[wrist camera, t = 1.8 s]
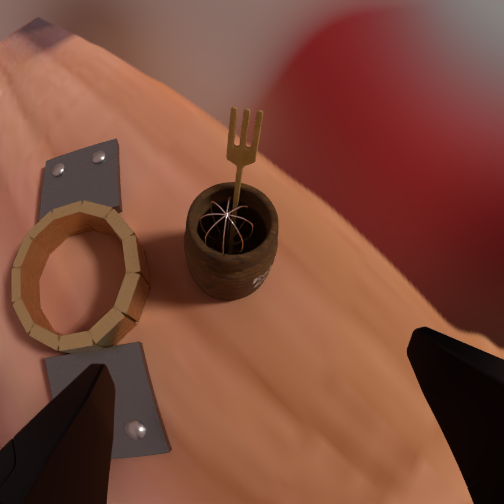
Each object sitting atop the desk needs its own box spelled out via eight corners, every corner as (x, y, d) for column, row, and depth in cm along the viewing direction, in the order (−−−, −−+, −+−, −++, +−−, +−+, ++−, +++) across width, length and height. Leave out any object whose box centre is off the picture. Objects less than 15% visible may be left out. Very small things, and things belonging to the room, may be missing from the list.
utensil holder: (183, 297, 21) (147, 213, 10) (197, 221, 24) (186, 102, 13) (264, 308, 22) (311, 234, 11) (270, 230, 24) (309, 117, 13)
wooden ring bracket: (192, 445, 17) (187, 456, 14) (61, 457, 15) (42, 465, 12) (133, 141, 26) (127, 120, 24) (38, 171, 24) (26, 153, 21)
